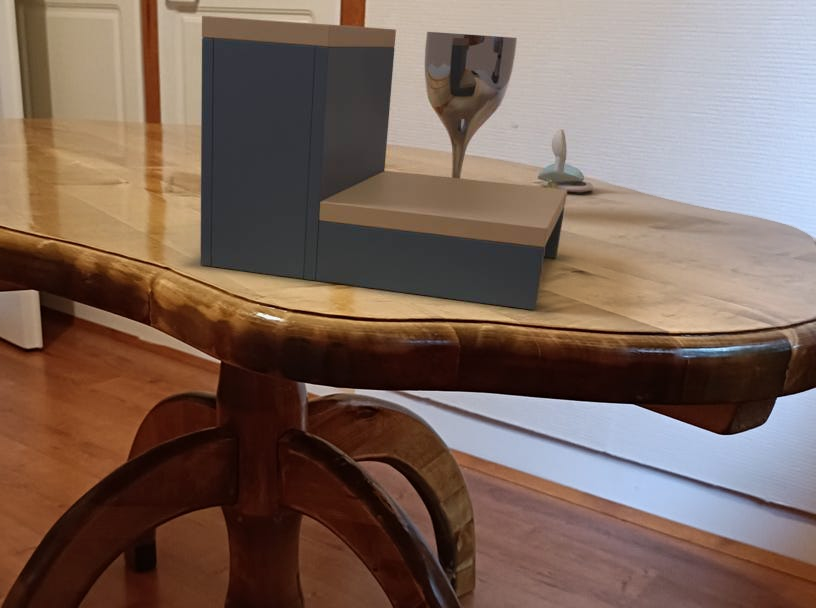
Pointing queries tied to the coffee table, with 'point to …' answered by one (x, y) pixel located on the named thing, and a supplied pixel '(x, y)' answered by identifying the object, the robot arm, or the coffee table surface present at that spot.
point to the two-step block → (347, 175)
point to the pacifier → (563, 169)
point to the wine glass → (466, 83)
